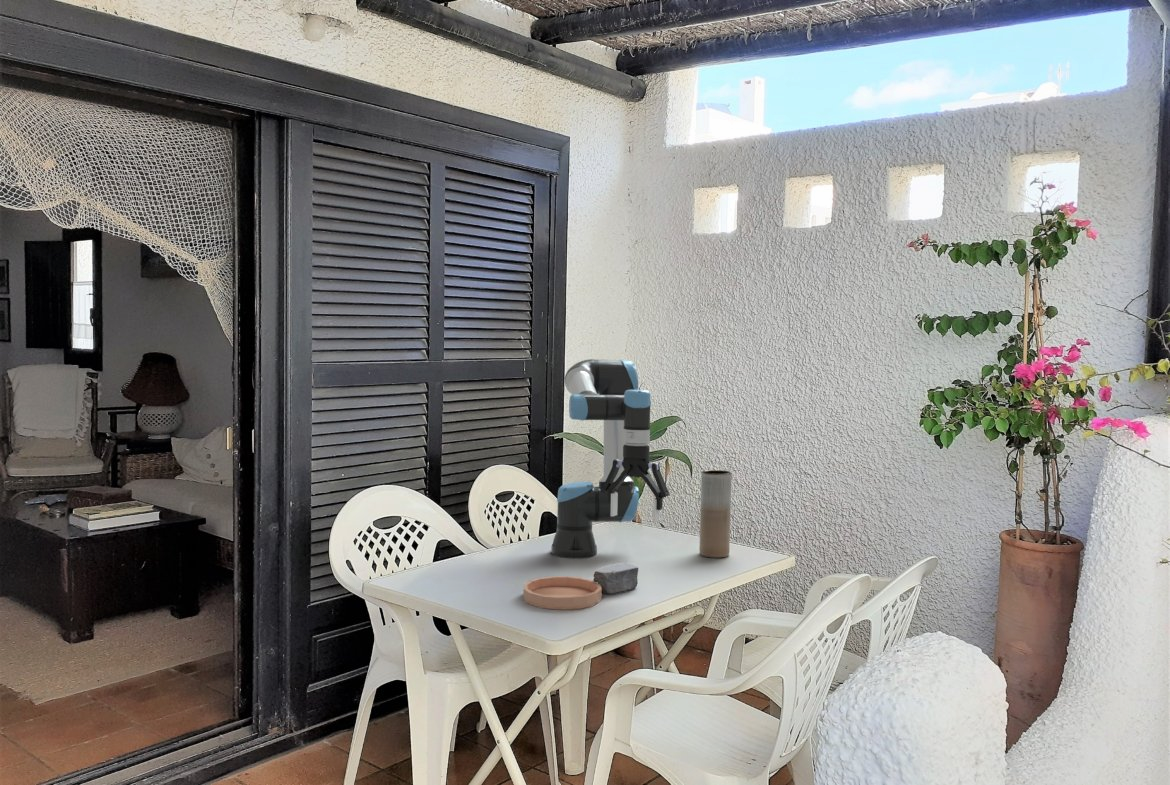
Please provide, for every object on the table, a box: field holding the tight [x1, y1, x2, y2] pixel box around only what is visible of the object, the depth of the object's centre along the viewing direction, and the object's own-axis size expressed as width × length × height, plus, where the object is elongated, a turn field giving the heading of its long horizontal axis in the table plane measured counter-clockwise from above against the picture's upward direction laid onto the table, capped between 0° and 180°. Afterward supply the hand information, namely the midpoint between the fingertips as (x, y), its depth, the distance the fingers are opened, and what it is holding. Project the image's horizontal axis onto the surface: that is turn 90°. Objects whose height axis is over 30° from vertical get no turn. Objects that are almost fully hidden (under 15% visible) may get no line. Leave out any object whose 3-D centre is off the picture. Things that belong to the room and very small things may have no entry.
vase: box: [698, 469, 732, 559], centre depth 294 cm, size 10×10×28 cm
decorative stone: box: [592, 562, 639, 596], centre depth 251 cm, size 15×7×10 cm
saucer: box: [522, 576, 603, 611], centre depth 241 cm, size 21×21×3 cm
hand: (634, 518), depth 252 cm, fingers open, 13 cm apart
